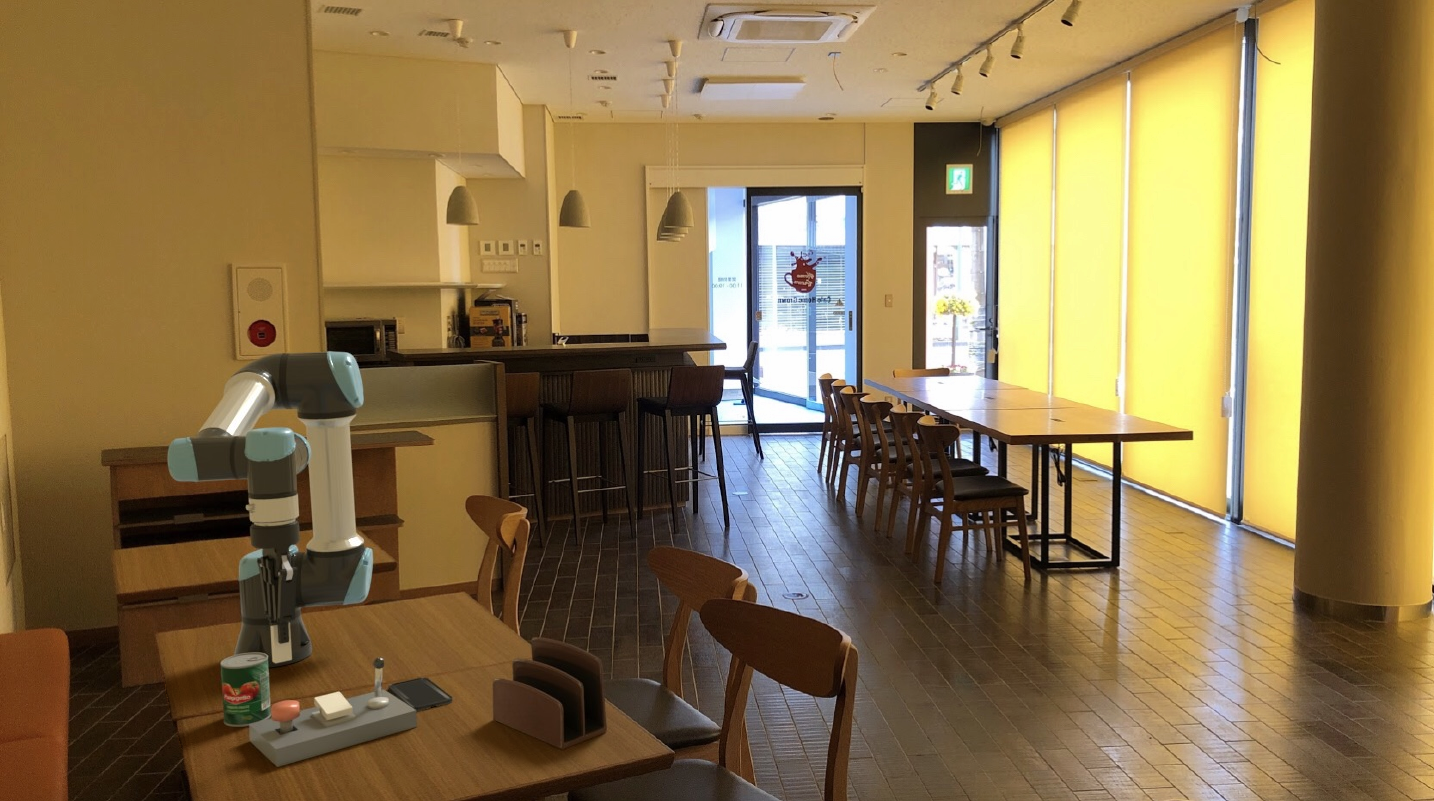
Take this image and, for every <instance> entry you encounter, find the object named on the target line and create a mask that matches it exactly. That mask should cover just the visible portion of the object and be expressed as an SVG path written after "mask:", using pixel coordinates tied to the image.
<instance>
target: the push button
mask: <svg viewBox="0 0 1434 801" xmlns="http://www.w3.org/2000/svg"><path fill="white" fill-rule="evenodd" d="M270 708H271V718H272V720H273V721H277V722H280V735H282V734H285V733H289V732H293V719H295V718H297V717H299V716H300V711H301V709H300V702H299V701H298V700H294V699H292V700H291V699H288V700H287V699H286V700H282V701H281V700H280V701H278V702H275V703H273V704H272V705H270Z"/></svg>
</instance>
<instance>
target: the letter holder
mask: <svg viewBox="0 0 1434 801" xmlns="http://www.w3.org/2000/svg"><path fill="white" fill-rule="evenodd" d="M530 647H531V659H526V658H518V657H517V658H514V659H513V661H512V662H511V665H512V667H511V668H512V679H507V678H501V677H499V678H494V679H493V680H492V716H493V717H492V718H493V720H494V721H495V722H498V723H500V724H503V725H505V726H508V727H510V728H512V729H514V730H515V731H518V732H520V733H523V734H526V735H528V736H529V737H533V738H534V739H537V740H539V741H542V742H544V743H545V744H548V745H551V746H553V747H555V748H558V749H560V750H566V749H567V748H570V747H573V746H575V745H578V744H580V743H583V742H585V741H588V740H591V739H593V738H595V737H598V736H601V735H603V734H605V733H606V732H607V729H608V727H607V714H606V713H607V712H606V696H605V684H604V671H603V669H604V668H603V662H602V659H601V658H599V657H598V656H596V655H594V654H593V653H591V652H589V651H587V650H585V649H584V648H581V647H578V646H575V645H573V644H570V643H566V642H563V641H559V640H556V639H550V638H546V637H538V636H534V637H532V639H531V642H530ZM590 738H591V739H590Z"/></svg>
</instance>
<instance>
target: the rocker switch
mask: <svg viewBox="0 0 1434 801" xmlns="http://www.w3.org/2000/svg"><path fill="white" fill-rule="evenodd" d="M346 699H347V698H345V697H344V695H343V694H342V693H341V692H340V691H336V692H335V691H334V692H332V693H328V694H324V695H323V694H322V695H319V696H316V697H314V698H313V704H314V707H317V708H318V709H319V711H320V714H322V715H323V716H324V717H325V718H326V720H331V719H334V718H338V717H342V716H346V715H349V714H352V712H353V707H352V706H351V705H350V704H349V702H348V701H347V700H346Z"/></svg>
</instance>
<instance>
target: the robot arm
mask: <svg viewBox="0 0 1434 801" xmlns="http://www.w3.org/2000/svg"><path fill="white" fill-rule="evenodd" d="M364 400H365V398H364V385H363V379H362V376H361V372H360V368H359V364H358V363H357V359H356V358H355V357H354V355H352V354H351V353H349V352H345V351H330V350H328V351H311V352H306V351H305V352H287V353H286V352H277V353H271V354H268V355H265V356H262V357H259V358H256V359H254V360H252V361H251V362H249V363H247V364H246V365H244V366H242V367H240V368H239V369H238V370H236V372H234V373H233V374H232V375H231V376H230V377H229V378H228V380H227V381H226V383H225V386H224V389H223V396H222V398H221V400H220V401H219V402H218V404H217V405H216V406H215V408H214V409H213V411H212V412H211V414H210V415H209V416H208V417H207V419H206V420H205V422H204V424H203V425H202V426H201V427H200V429H199V431H198V432H197V433H196V434H195V436H194V437H190V436H186V437H182V438H181V437H180V438H175V439H173V440H172V441H171V442H170V444H169V446H168V450H167V466H168V467H167V468H168V471H169V474H170V476H171V478H172V479H173V480H175V481H176V482H194V483H198V482H211V481H212V482H213V481H228V480H229V481H230V480H247V492H248V495H247V496H248V504H246V505H245V509H246V510H247V511H248V512H249V520H250V522H252V524H251V525H250V526H249V533H250V545H251V547H253V548H254V549H255V548H256V549H257V550H255V551H251V552H249V553H247V554H245V555H244V556H243V557H241V559H240V560H239V564H238V578H237V579H238V584H239V585H238V586H239V597H240V598H239V599H240V613H241V628H240V631H239V635H238V639H237V642H236V645H235V649H234V655H237V654H243V653H252V652H258V653H264V654H267V655H268V669H269V668H275V667H280V666H281V667H282V666H286V665H290V664H293V663H297V662H299V661H302V660H304V659H306V658H307V657H309V656H310V655H311V654H312V652H313V648H312V647H313V646H312V641H311V638H310V636H309V633H308V630H307V628H306V625H305V622H304V621H303V618H302V611H301V609H302V608H310V607H325V606H326V607H328V606H341V605H342V606H346V605H353V604H361V603H363V602H364V601H365V600H366V599H367V597H368V595H369V591H370V588H371V582H372V575H373V568H374V566H373V565H374V555H373V554H374V551H373V549H372V548H370V547H366V546H365V539H364V538H363V537H362V536H361V535H359V534H358V533H357V525H356V512H355V495H354V494H355V492H354V478H353V463H352V462H353V461H352V460H353V458H352V448H351V447H352V444H351V428H350V423H351V422H352V420H354V418H355V417H356V416H357V409H359V408H361V407H362V406H363V404H364ZM275 410H296V413H297V420H298V421H300V423H302V424H304V425H305V431H306V433H305V434H306V437H304V436H303V435H301V434H299V433H297V432H294V431H293V429H291V428H289V427H283V426H282V427H280V426H276V427H275V426H274V427H273V426H272V427H263V428H262V427H261V428H255V429H253V428H254V427H255V426H256V424H257V423H258V420H259V419H260V417H262V416H264V415H266V414H267V413H268V412H270V411H275ZM307 465H308V474H309V488H310V489H309V492H310V505H311V517H312V518H311V519H312V533H313V537H312V538H311V539H310V540H309V541H308V542H307V544H306V551H299V547H298V546H297V544H299V542H300V541H301V540H300V539H301V536H300V535H301V534H300V533H301V532H300V522H299V521H298V520H297V518H298V517H299V516H300V514H299V513H300V510H299V494H298V489H297V488H298V487H297V486H298V485H297V484H298V483H297V481H298V480H297V475H298V474H300V473H302V472H303V471H304V470H305V469H306V467H307Z"/></svg>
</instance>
